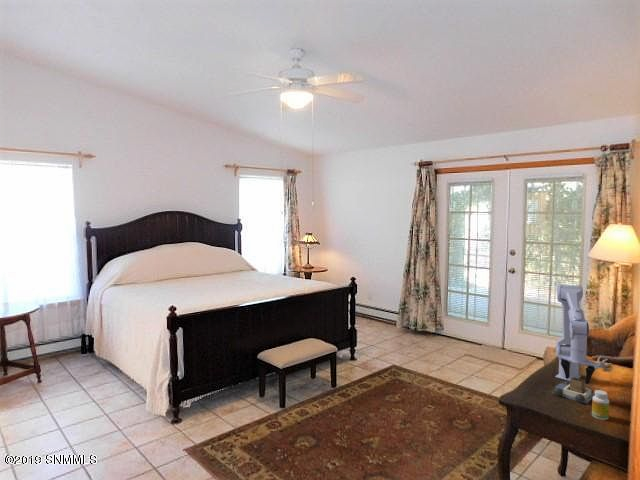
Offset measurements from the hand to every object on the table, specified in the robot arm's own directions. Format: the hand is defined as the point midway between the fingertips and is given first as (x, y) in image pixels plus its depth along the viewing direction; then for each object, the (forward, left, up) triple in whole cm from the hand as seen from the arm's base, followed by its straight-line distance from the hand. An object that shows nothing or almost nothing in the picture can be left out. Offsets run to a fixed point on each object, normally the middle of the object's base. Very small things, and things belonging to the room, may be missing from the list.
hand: (577, 380), depth 178 cm
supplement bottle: (+13, +12, -7) cm, 19 cm away
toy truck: (0, -1, -7) cm, 7 cm away
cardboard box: (0, 0, -6) cm, 6 cm away
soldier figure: (-46, -2, -7) cm, 47 cm away
